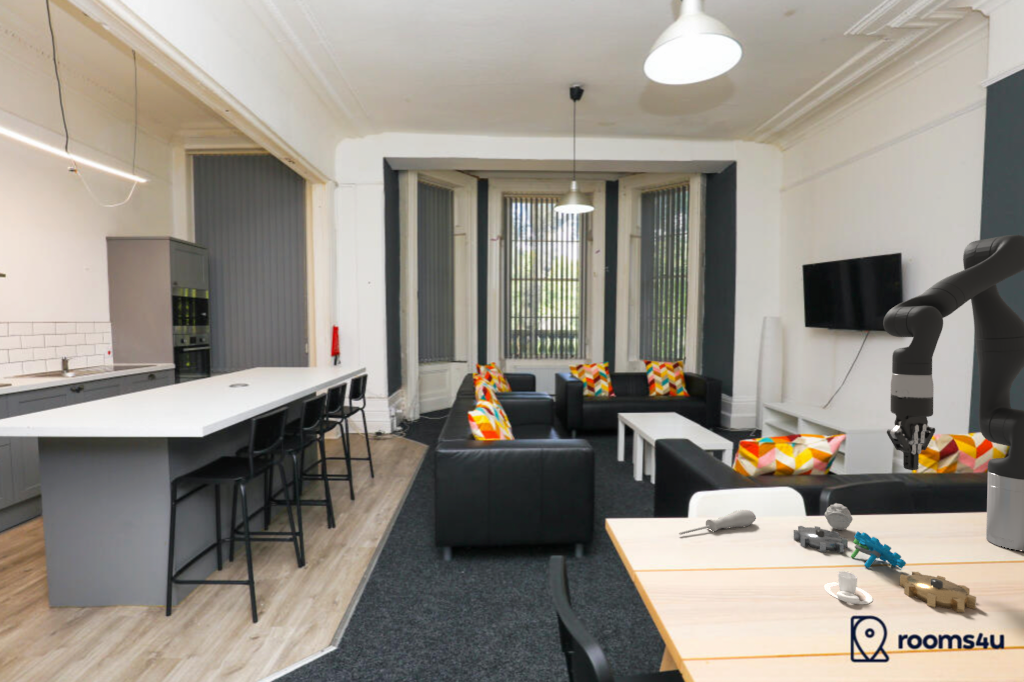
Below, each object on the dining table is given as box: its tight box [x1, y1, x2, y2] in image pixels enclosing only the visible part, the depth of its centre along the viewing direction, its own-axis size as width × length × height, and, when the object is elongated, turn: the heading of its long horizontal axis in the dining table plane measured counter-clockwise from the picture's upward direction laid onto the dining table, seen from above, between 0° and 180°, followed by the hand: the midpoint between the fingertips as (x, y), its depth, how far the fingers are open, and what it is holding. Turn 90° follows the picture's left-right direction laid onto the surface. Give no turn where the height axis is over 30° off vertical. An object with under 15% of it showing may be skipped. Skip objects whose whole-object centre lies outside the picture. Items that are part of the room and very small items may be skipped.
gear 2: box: [850, 531, 907, 569], centre depth 107 cm, size 11×6×10 cm
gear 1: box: [792, 525, 849, 554], centre depth 119 cm, size 11×11×3 cm
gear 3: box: [899, 571, 977, 614], centre depth 95 cm, size 11×11×3 cm
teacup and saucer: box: [823, 570, 874, 605], centre depth 96 cm, size 9×8×4 cm
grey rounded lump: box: [824, 502, 854, 531], centre depth 127 cm, size 6×7×7 cm
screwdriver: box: [678, 509, 757, 535], centre depth 127 cm, size 5×25×4 cm, turn 110°
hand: (910, 469), depth 110 cm, fingers closed
